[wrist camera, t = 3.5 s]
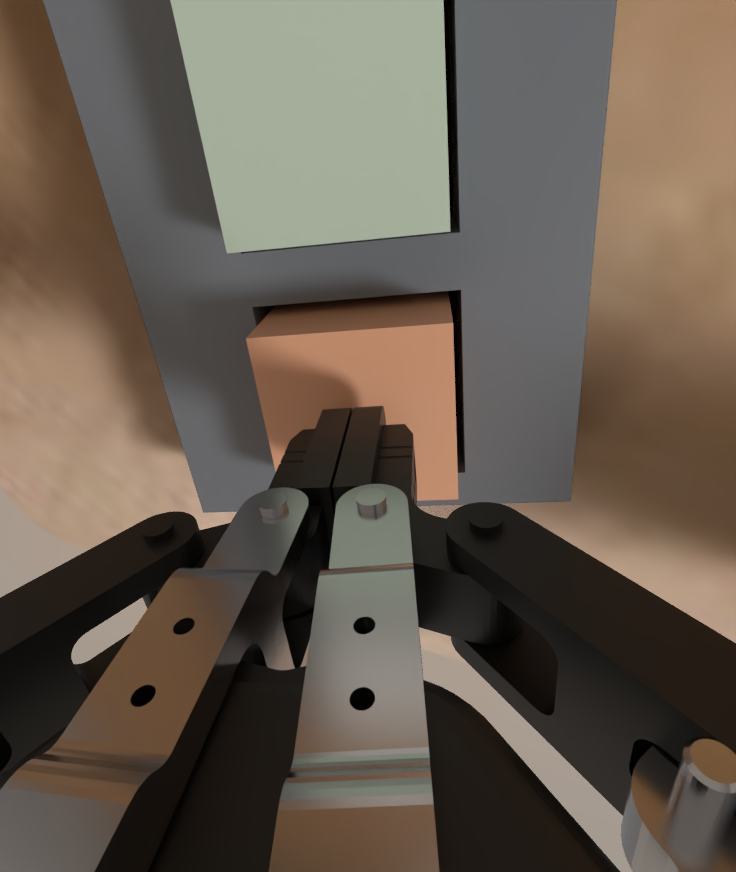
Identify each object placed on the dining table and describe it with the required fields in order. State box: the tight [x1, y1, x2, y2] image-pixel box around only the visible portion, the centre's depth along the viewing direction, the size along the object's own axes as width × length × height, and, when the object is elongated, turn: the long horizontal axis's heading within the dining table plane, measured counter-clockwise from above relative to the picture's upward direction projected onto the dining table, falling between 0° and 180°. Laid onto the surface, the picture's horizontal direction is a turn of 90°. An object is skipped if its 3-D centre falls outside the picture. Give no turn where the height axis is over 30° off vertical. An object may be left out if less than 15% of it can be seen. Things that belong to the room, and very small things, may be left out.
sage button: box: [170, 0, 450, 253], centre depth 12 cm, size 5×5×3 cm
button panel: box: [43, 0, 617, 513], centre depth 13 cm, size 22×12×3 cm, turn 6°
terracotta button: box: [246, 291, 458, 501], centre depth 15 cm, size 5×5×3 cm
